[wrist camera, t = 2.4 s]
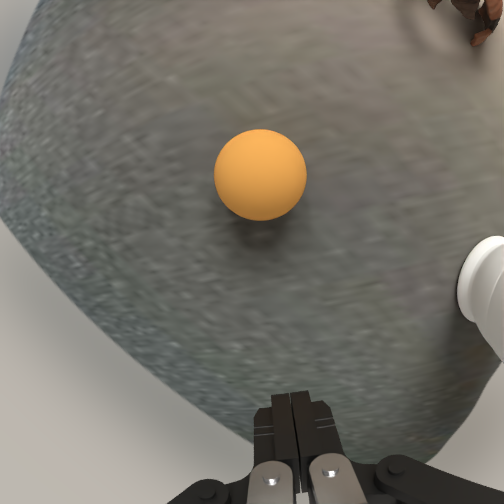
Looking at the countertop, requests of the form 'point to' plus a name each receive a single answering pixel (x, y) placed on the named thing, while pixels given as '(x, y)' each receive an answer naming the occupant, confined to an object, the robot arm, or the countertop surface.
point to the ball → (260, 174)
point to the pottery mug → (490, 13)
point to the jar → (485, 291)
